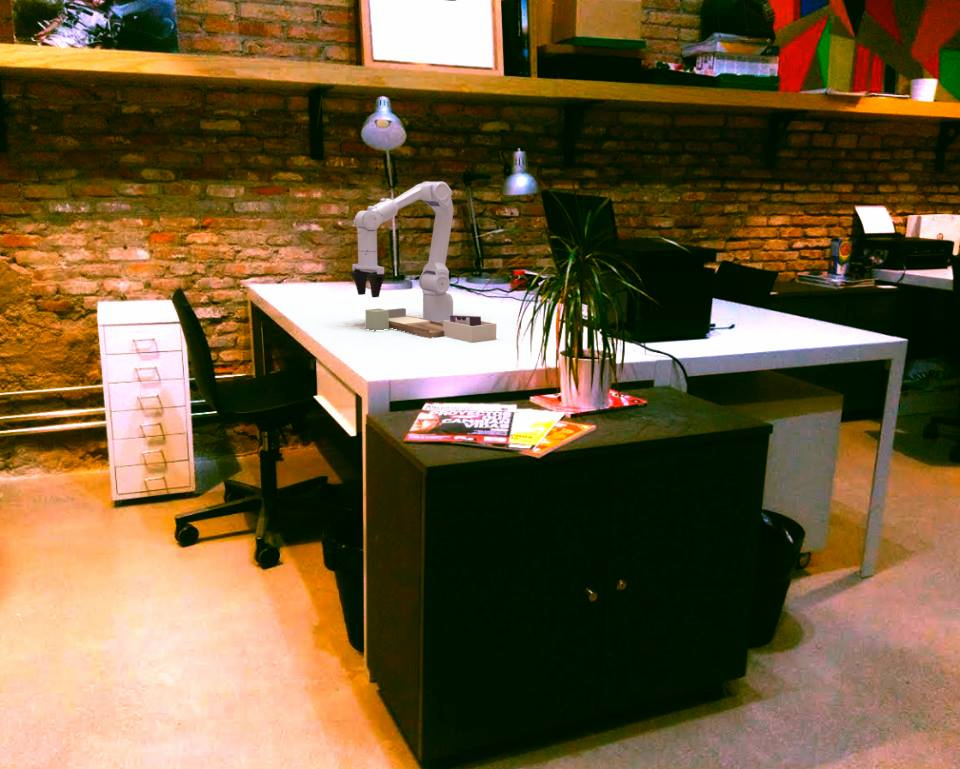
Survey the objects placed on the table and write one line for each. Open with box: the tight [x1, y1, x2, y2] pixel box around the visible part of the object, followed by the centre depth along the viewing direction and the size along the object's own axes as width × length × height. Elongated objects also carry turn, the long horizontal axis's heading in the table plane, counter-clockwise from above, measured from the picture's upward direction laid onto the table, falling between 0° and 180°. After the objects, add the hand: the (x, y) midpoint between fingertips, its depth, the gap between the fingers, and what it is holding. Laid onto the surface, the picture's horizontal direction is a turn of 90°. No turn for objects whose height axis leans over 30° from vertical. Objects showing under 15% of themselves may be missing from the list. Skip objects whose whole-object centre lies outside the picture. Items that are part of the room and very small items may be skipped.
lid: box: [387, 307, 430, 325], centre depth 264 cm, size 10×13×3 cm
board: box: [389, 315, 445, 339], centre depth 260 cm, size 11×27×2 cm, turn 40°
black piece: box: [450, 314, 482, 326], centre depth 248 cm, size 7×5×9 cm
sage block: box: [365, 308, 390, 332], centre depth 259 cm, size 5×5×6 cm
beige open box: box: [442, 318, 497, 343], centre depth 248 cm, size 9×13×4 cm
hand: (368, 295), depth 262 cm, fingers open, 7 cm apart
